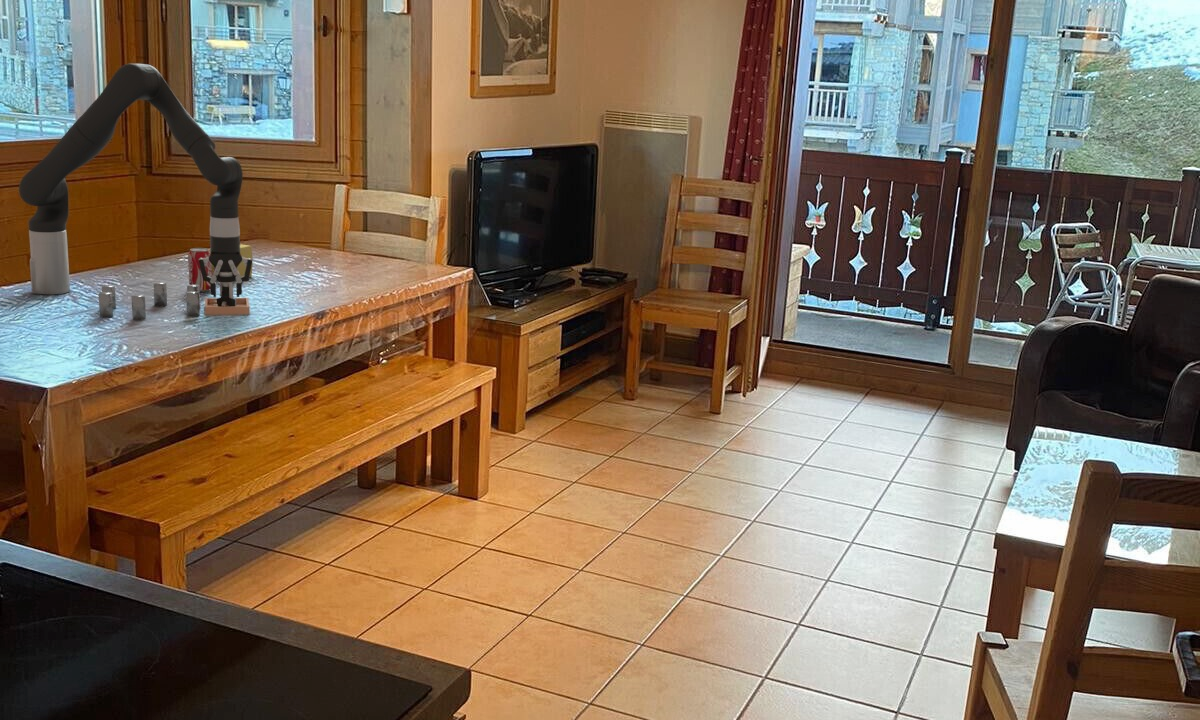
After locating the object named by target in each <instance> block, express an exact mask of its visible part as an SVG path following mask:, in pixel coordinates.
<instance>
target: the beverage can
mask: <svg viewBox="0 0 1200 720" xmlns="http://www.w3.org/2000/svg"><path fill="white" fill-rule="evenodd" d="M209 250H210V248H205V247H194V248H193V247H192V248H190V249H189V252H188V254H187V258H188V259H187V261H188V262H187V263H188V264H187V265H188V285H199V286H200V293H205V292H209V291H210V283H209V282H207V281H204V280H203V277H202V273H201V269H200V265H199V258H207V257H209V255H210V252H209ZM205 268H206V272H207V276H210V277H211V276H212V270H211V262H210V261H208V263H207V266H205Z"/></svg>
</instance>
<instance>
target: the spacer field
mask: <svg viewBox="0 0 1200 720" xmlns="http://www.w3.org/2000/svg"><path fill="white" fill-rule="evenodd" d="M167 293H168V292H167V282H165V281H157V282H153V299H154V301H153V303H154V306H155V307H166V306H168V295H167ZM185 296H186V297H185V298H186V300H185V301H186V305H185V306H186V316H187V317H199V316H200V315H201V313H200V308H201V292H200V286H199V285H189V284H187V285H186V292H185ZM130 297H131V299H130V300H131V314H132V315H131V317H132V320H133V321H144V320H146V319H147V317H146V316H147V313H146V311H147V309H146V296H145V294H132V295H131V296H130ZM116 298H117V297H116V285H113V284H108V285H107V284H105V285H101V292H98V309H99V317H100V318H104V319H107V318H109V319H110V318H113V317H114V310H116V309H117V300H116Z"/></svg>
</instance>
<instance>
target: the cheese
mask: <svg viewBox="0 0 1200 720" xmlns="http://www.w3.org/2000/svg"><path fill="white" fill-rule="evenodd" d="M209 252H210V249H209ZM240 254H241V256H242V257H243V258H251V259H252V260H253V251H252V246H251V245H250V244H249V245H248V244H242V243H240ZM214 268H215V267H214V266H213V265H212V264H211V270H212V273H213V271H214ZM237 269H238V272H239V274H240V276H241V277H242V276H244V274H245V269H246V266H244V263H243V262H242V261H241V263H240V264H239V265H238V267H237ZM218 274H219V273H218ZM252 276H253V261H252V266H251V271H250V276H249V278H251V277H252ZM216 280H217V278H216Z"/></svg>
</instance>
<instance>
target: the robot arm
mask: <svg viewBox="0 0 1200 720" xmlns="http://www.w3.org/2000/svg"><path fill="white" fill-rule="evenodd" d="M174 93H175V92H174V91H173V90H172V89H171V87H170V86H169V84H168V83H167V81H166V80H165V79H164V77H163V75H162V74H161V73H160V72H159V70H158V69H156V67H154V66H152V65H150V64H147V63H133V62H132V63H127V64H123V65H122V66H121V67H119V68H118V69H117V70H116V72H114V74H113V76H111V79H110V80H109V82H108V83H107V84H106V86H105V88H104V89H103V90H102V92H101V93H100V94H99V96H98V97H97V98H96V99H95V100H94V101H93V102H92V103H91V105H90V106H88V108H87V109H86V110H85V111H84V112H83V113H82V115H80V116H79V118H77V120H76V121H75V122H74V123H73V124H72V125H71V127H69V128H68V130H67V131H66V132H65V134H64V135H63V136H62V137H61V139H60V140H59V141H58V142H57V143H56V144H55V145H54V146H53V148H52V149H51V150H50V151H49V152H48V153H47V154H46V155H45V156H44V158H42V159H41V160H40V161H39V162H38V163H37V164H36V165H35V166H33V167H32V168H31V169H30V170H29V171H27V173H26V174H24V175H23V177H22V178H21V180H20V182H19V186H18V193H19V196H20V198H21V199H22V201H23V202H24V203H25V204H27V205H28V206H33V207H36V211H35V213H34V214H33V216H32V217H30V218H29V219H28V236H29V247H30V248H29V252H30V259H29V270H30V282H31V284H30V285H31V294H39V295H59V294H67V293H69V292H71V283H70V268H69V266H70V265H69V249H68V236H67V222H68V221H69V215H70V213H69V211H70V207H69V205H70V204H69V201H70V200H69V187H68V184H67V181H66V177H68V176H69V175H70V174H71V173H73V172H74V171H76V170H78V169H79V168H81V167H83V166H85V165H86V164H88V163H89V162H90V161H92V160H93V159H94V158H95V157H97V156H98V155H99V154H100V153H101V152H102V150H103V149H105V148H106V146H107V145H108V144H109V142H110V141H111V140H112V139H113V136H114V133H115V131H116V127H117V123H118V120H119V118H120V117H121V116H122V115H123V113H124V112H125V111H126V110H127V109H128V108H129V107H130V106H132V105H133V104H134V103H135V102H137V101H146V102H147V103H149V104H151V105H152V106H153V107H154V108H156V110H157V111H158V112H159V113H160V114H161V115H162V117H163V118H164V119H165V122H166V125H167V126H168V128H169V130H170V132H171V134H172V136H173V138H174V139H175V140H176V142H177V143H178V144H179V145H180V146H181V147H182V149H184V150H185V152H186V153H187V154H188V155H189V156H190V157H191V158H192V159H193V161H194V163H195V165H196V167H197V168H198V170H199V172H200V173H201V175H202V177H203V178H204V179H205V180H206V181H207V182H208V183H210V184H212V185H214V186H217V187H216V192H215V193H214V194H212V196H211V197H210V199H209V200H210V201H209V206H210V207H209V208H210V220H209V242H210V243H209V245H210V247H209V250H210V255H209V257H207V258H199V265H200V269H201V273H202V277H203V280H204V281H207V282H209V283H210V290H209V291H210V295H211V296H213V297H212V298H217V284H216V283H217V282H216V281H217V279H216V278H217V277H216V276H218V273H219V272H225V271H227V272H233V274H234V276H236V277H235V278H236V281H235V282H236V283H235V286H236V287H235V288H236V292H235V293H236V298H240V295H242V294H243V283H244V282H248V281H249V280H250V277H249V276H250V271H251V266H252V267H253V265H252V262H253V258H252V259H251V258H243V257H242V256H241V254H240V244H241V237H240V236H241V229H240V228H241V226H240V220H239V198H240V195H241V189H242V183H243V178H244V177H243V169H242V166H241V164H240V162H239V161H238V160H237V159H236V158H235V157H231V156H226V157H225V156H224V157H220V156H219V155H218V154H217V153H216V151H215V150H216V143H215V142H214V140H213V139H212V137H210V135H209V134H208V133H207V132H206V131H205V130H204V129H203V128H202V127H201V126H200V125H199V123H198V122H197V121H196V120H195V119H194V118H193V117H192V116H191V114H190V113H189V111H187V110H186V108H185V106H183V104H182V103H181V101H180V100H179V98H177V96H176V94H174ZM208 261H210V262H211V264H212V265H213V266H214V267H215V268H214V271H213V273H212V276H211V277H210V276H207V272H206V268H205V266H207V263H208ZM241 261H242V262H243V263H244V266H246V269H245V274H244V276H242V277H241V276H240V274H239V272H238V269H237V267H238V265H239V264H240V263H241Z"/></svg>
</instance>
